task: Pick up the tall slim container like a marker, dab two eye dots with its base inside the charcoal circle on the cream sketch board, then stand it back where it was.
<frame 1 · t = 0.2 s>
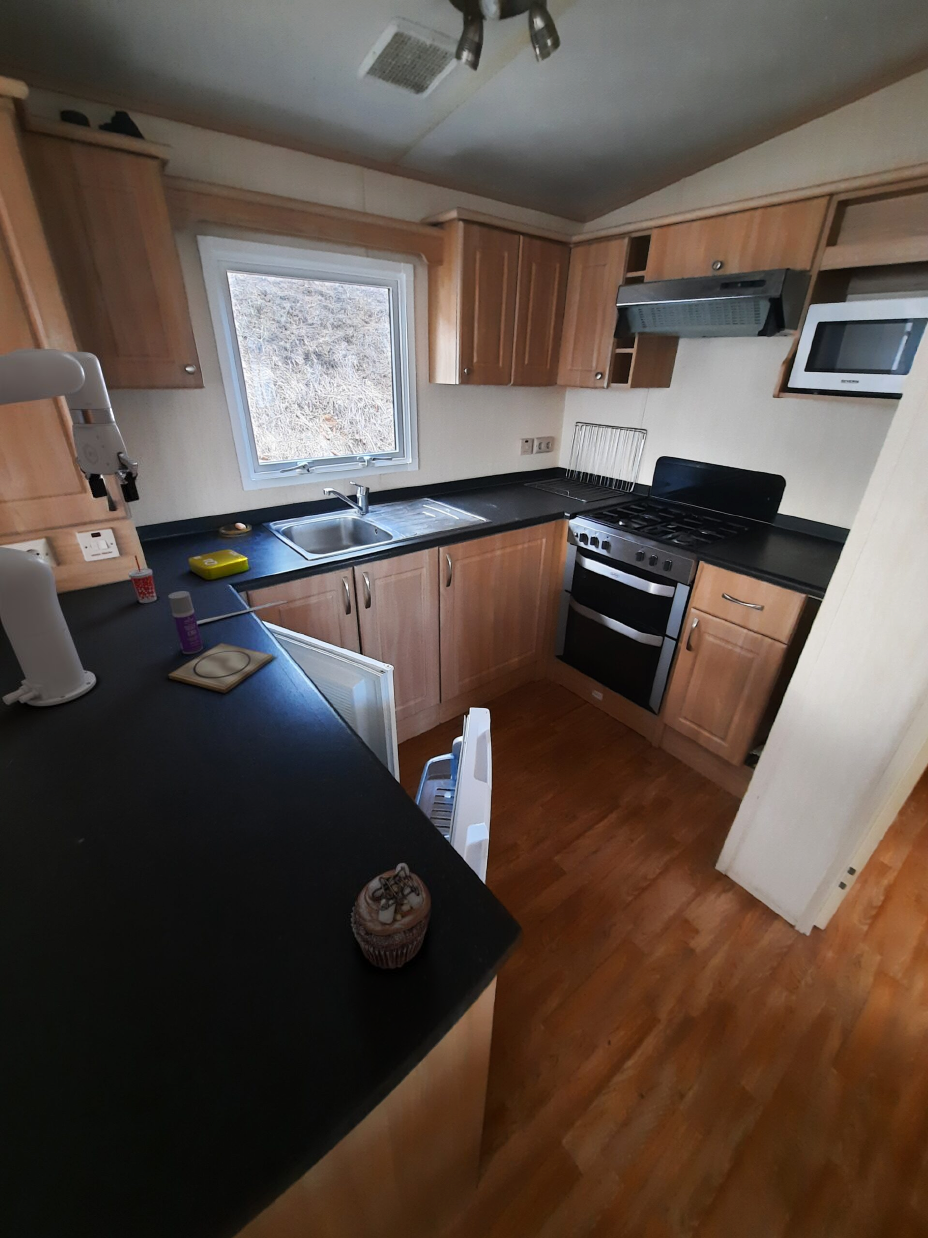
hand: (116, 498, 114), 37 cm above the countertop, tool pointing down, fingers open, 9 cm apart
container: (192, 650, 127), on the countertop
beverage cup: (148, 600, 153), on the countertop
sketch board: (223, 668, 119), on the countertop
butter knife: (240, 613, 146), on the countertop
yellow flat square block: (220, 570, 176), on the countertop
cupcake: (392, 937, 64), on the countertop
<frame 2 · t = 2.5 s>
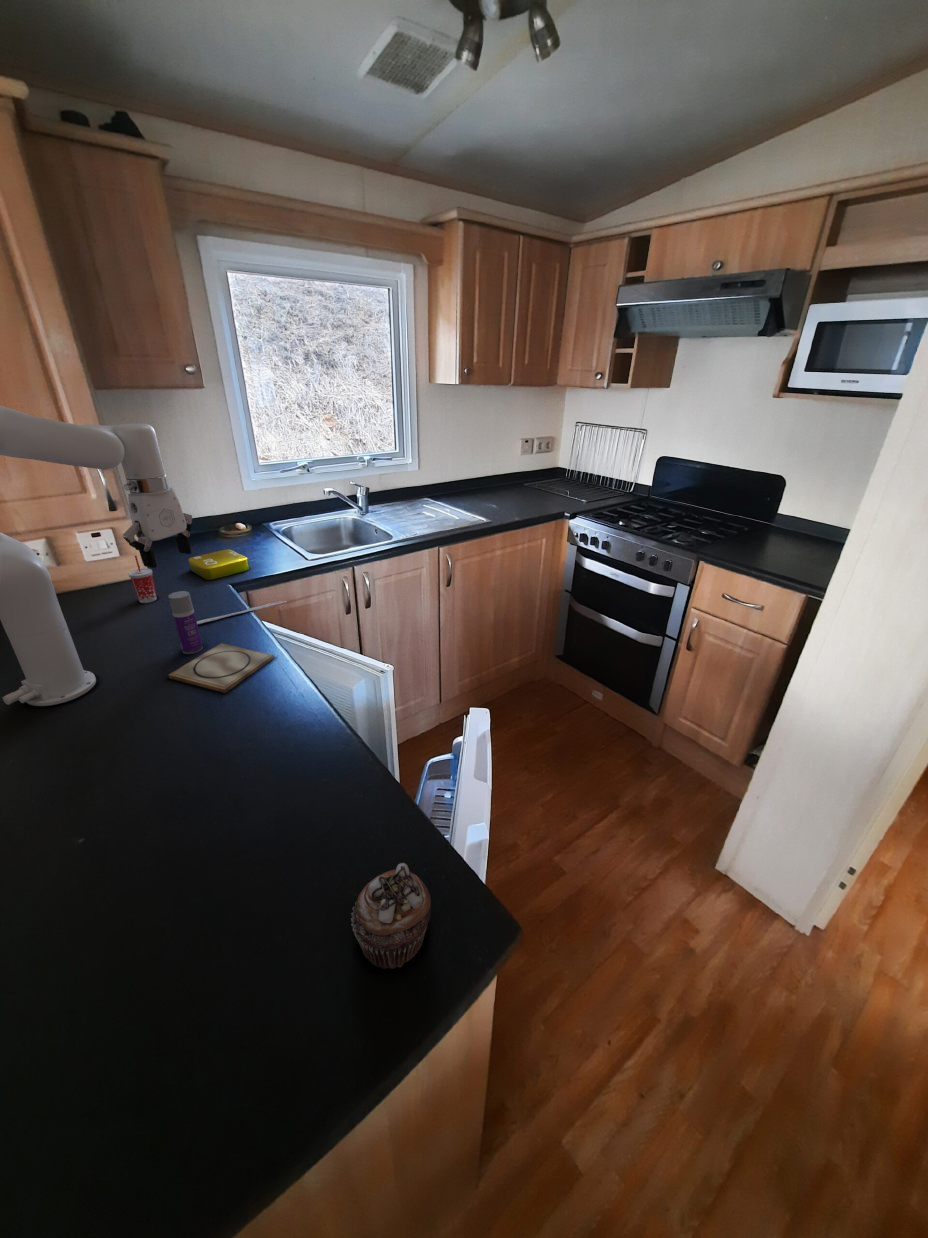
hand: (168, 559, 117), 24 cm above the countertop, tool pointing down, fingers open, 9 cm apart
nothing on the countertop moved.
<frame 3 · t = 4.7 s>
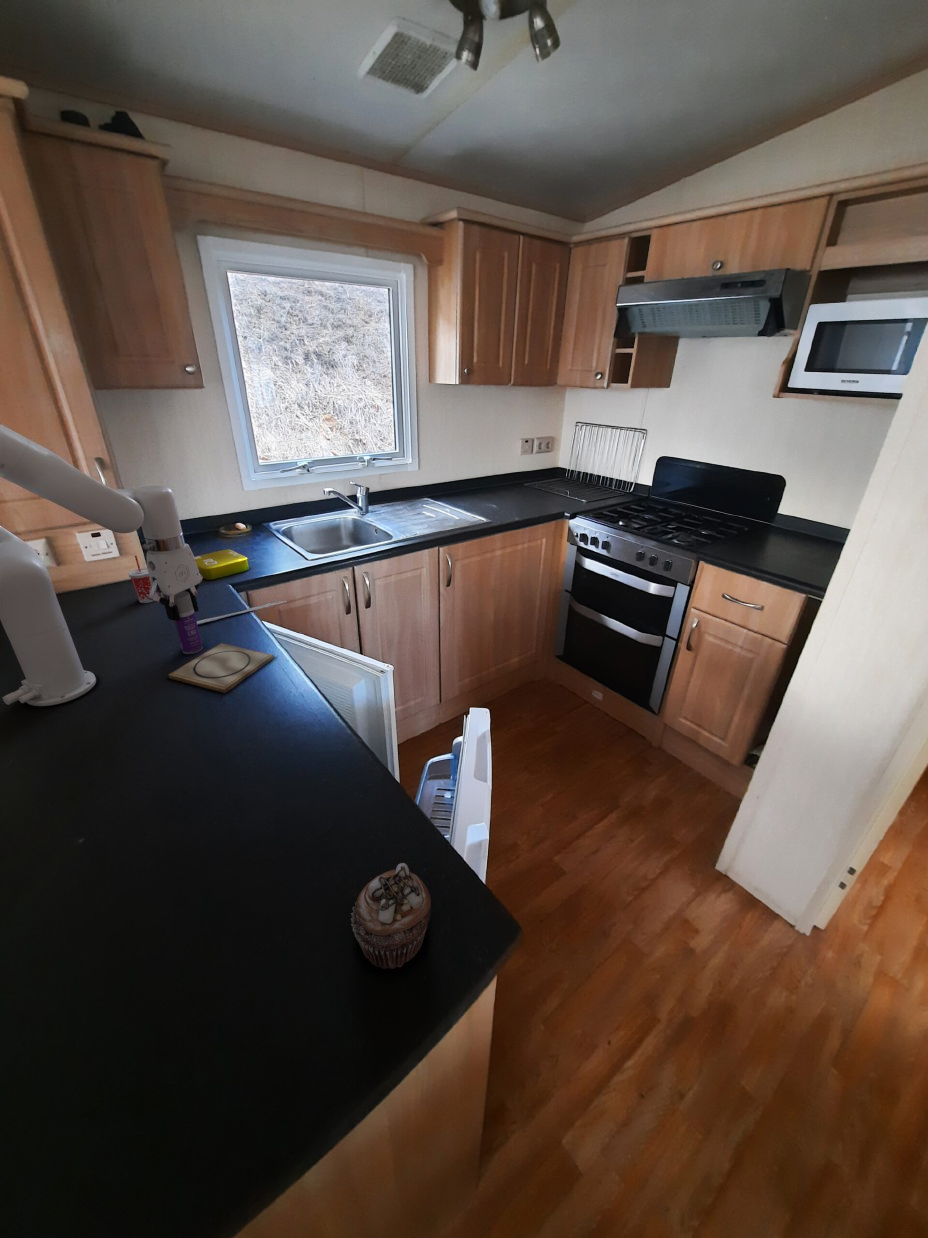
hand: (183, 614, 122), 10 cm above the countertop, tool pointing down, fingers closed on container, 4 cm apart
container: (192, 650, 127), on the countertop, touching gripper
everything else where it was.
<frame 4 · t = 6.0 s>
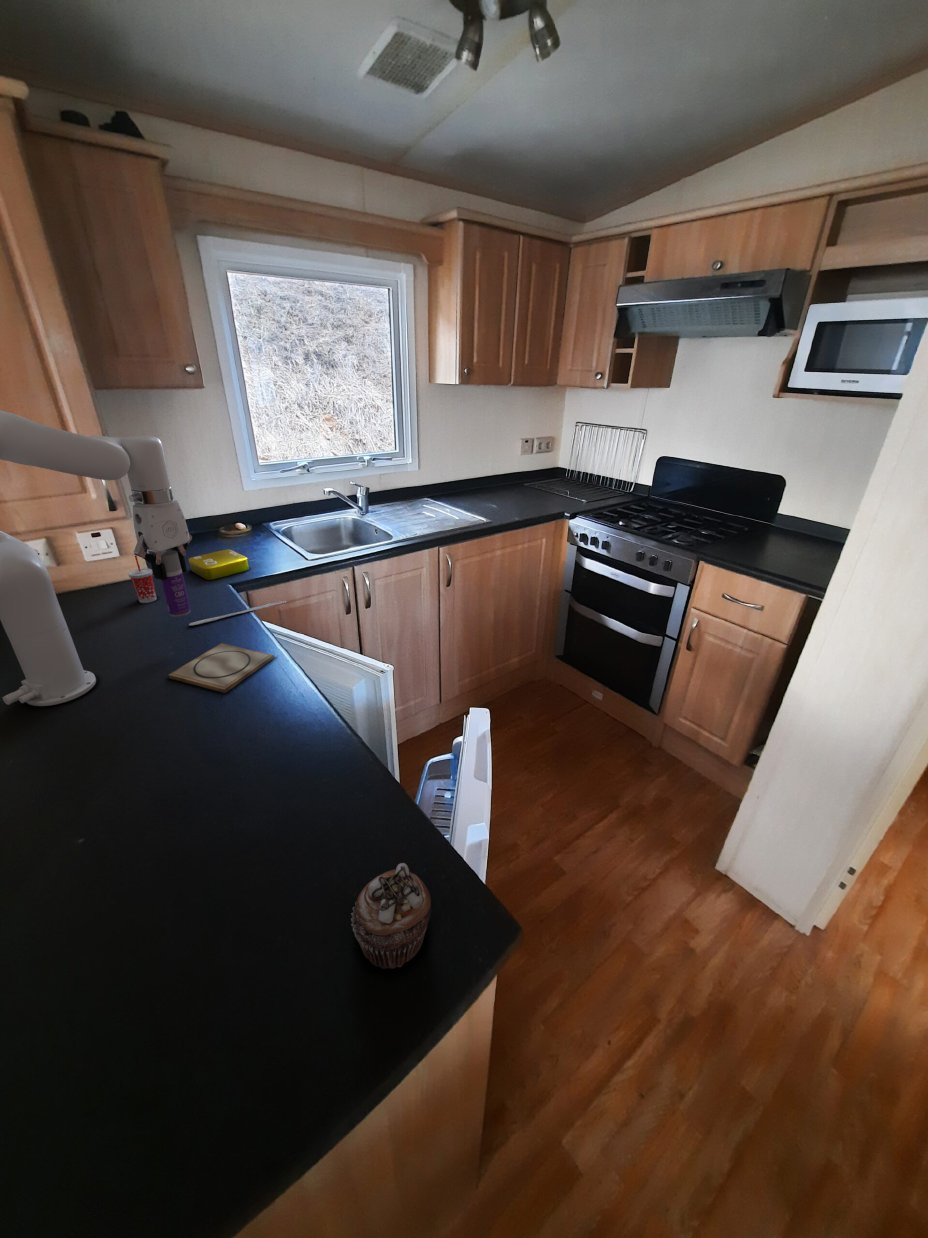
hand: (171, 574, 117), 20 cm above the countertop, tool pointing down, fingers closed on container, 4 cm apart
container: (180, 613, 122), point 10 cm above the countertop, touching gripper
everything else where it was.
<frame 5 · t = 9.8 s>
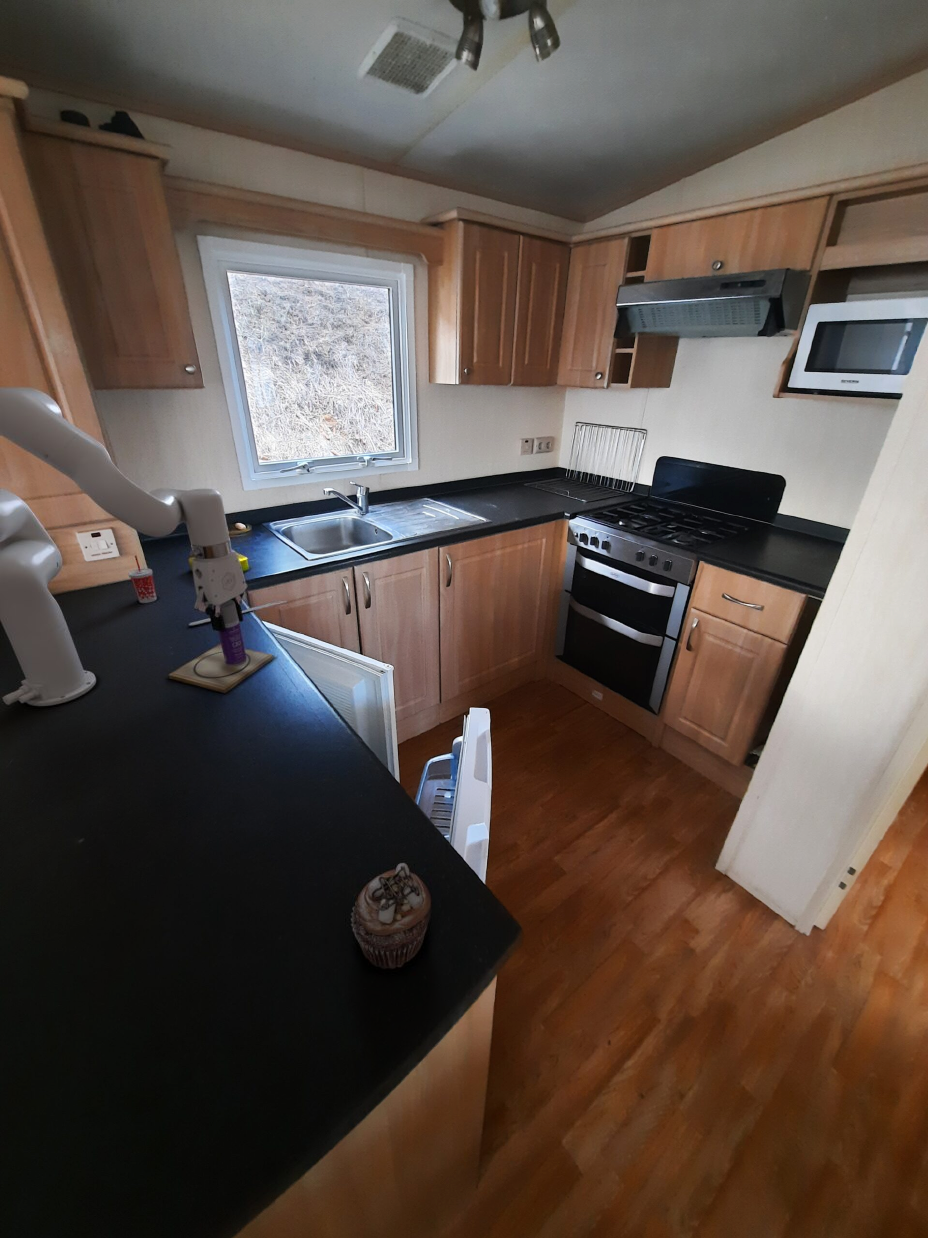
hand: (228, 624, 115), 11 cm above the countertop, tool pointing down, fingers closed on container, 4 cm apart
container: (236, 662, 120), point 1 cm above the countertop, touching gripper, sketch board
everything else where it was.
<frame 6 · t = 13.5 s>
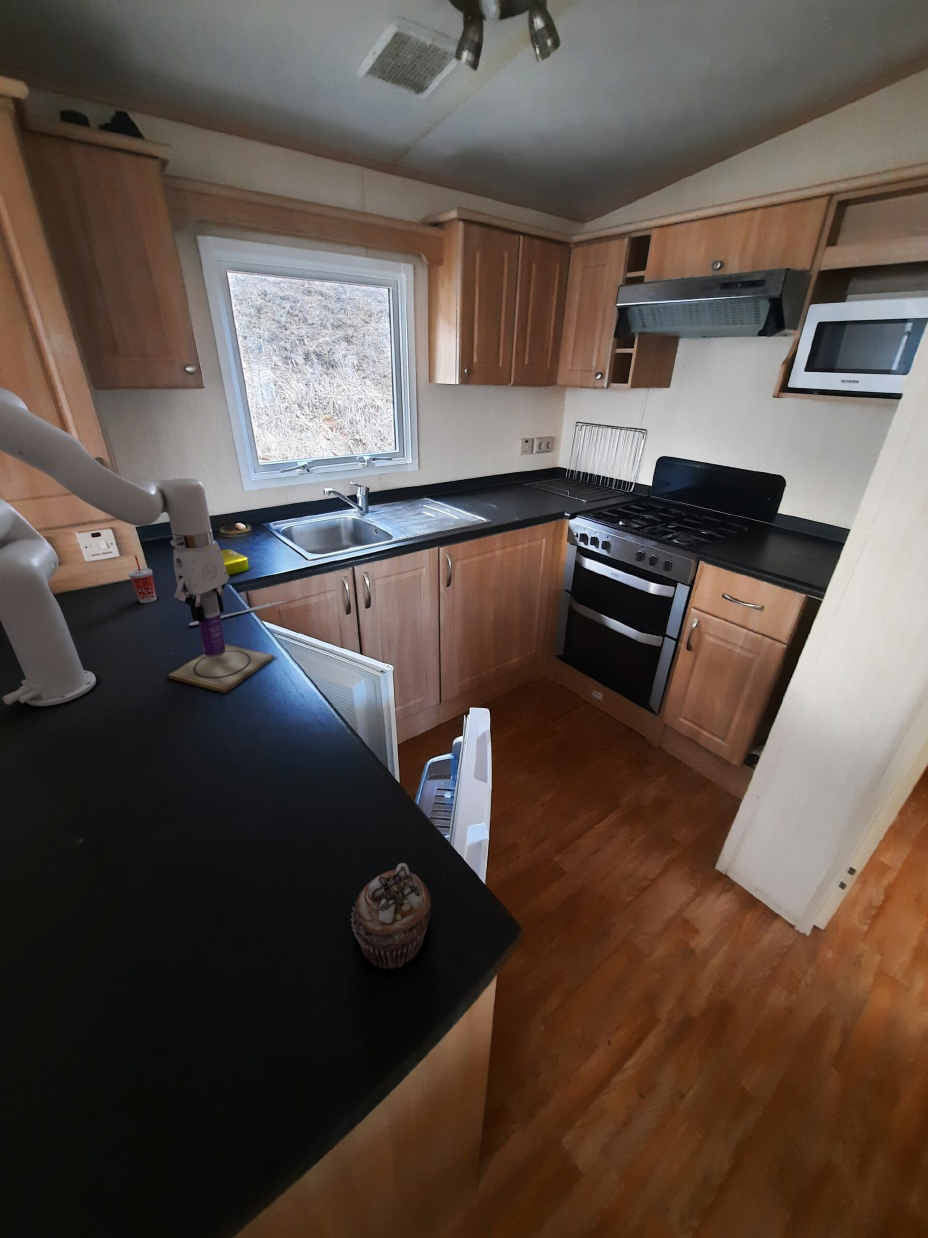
hand: (208, 615, 116), 13 cm above the countertop, tool pointing down, fingers closed on container, 4 cm apart
container: (214, 653, 120), point 3 cm above the countertop, touching gripper
everything else where it was.
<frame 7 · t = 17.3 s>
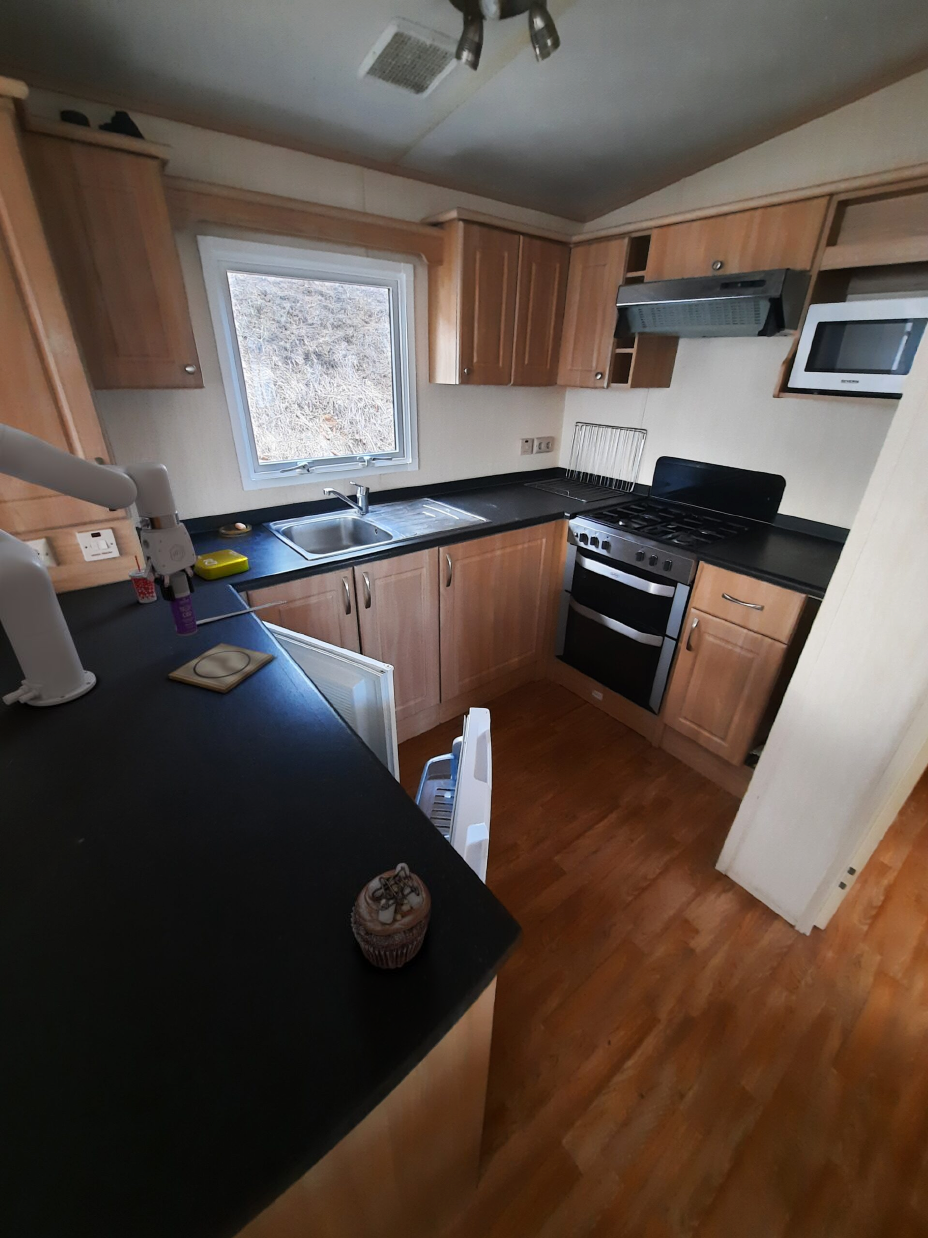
hand: (179, 595, 120), 15 cm above the countertop, tool pointing down, fingers closed on container, 4 cm apart
container: (187, 632, 125), point 5 cm above the countertop, touching gripper
everything else where it was.
when the fingers open (10 cm above the countertop, at t = 18.9 s): container stays where it is, on the countertop.
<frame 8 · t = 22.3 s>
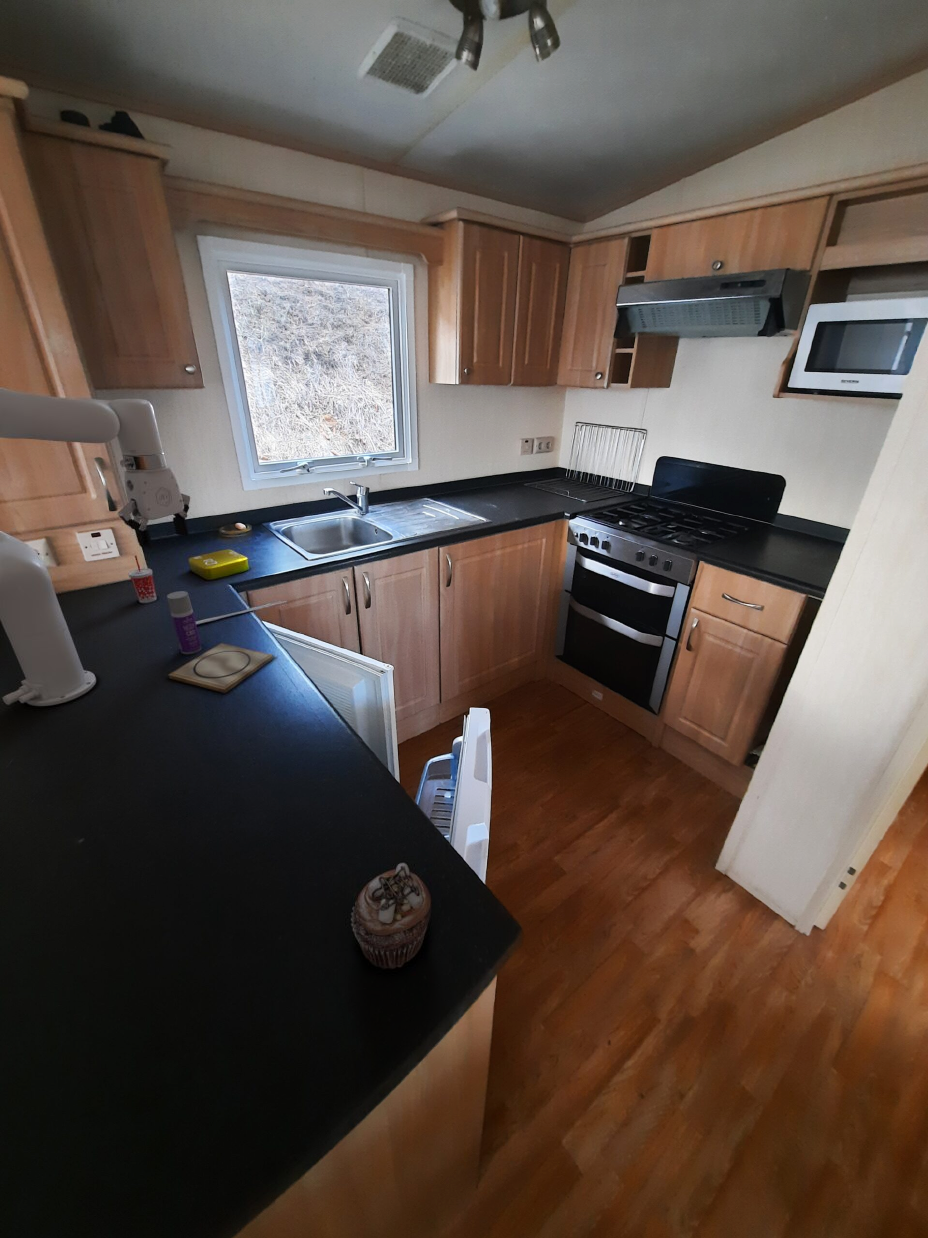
hand: (165, 540, 114), 28 cm above the countertop, tool pointing down, fingers open, 9 cm apart
container: (191, 650, 127), on the countertop
everything else where it was.
at the end: container tilted 0°; container inside the target area (0.3 cm from its centre), on the countertop; the gripper is holding nothing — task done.
